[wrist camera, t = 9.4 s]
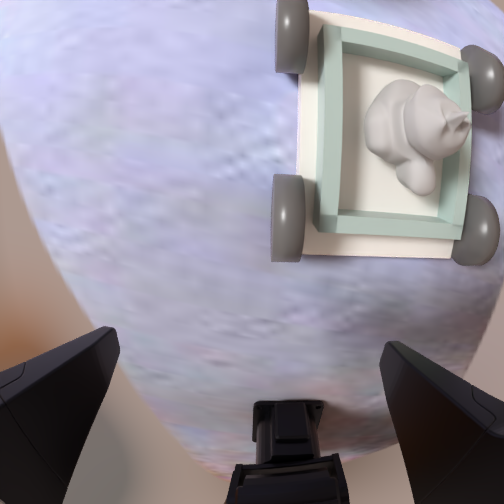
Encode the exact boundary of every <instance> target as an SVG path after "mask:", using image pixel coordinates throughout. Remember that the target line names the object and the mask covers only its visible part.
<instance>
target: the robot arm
mask: <svg viewBox="0 0 504 504" xmlns="http://www.w3.org/2000/svg"><path fill="white" fill-rule="evenodd" d="M119 354H120V346H119V342H118V337H117V332H116V330H115V329H114V328H113V327H107V326H103V327H101V328H99V329H96V330H94V331H92V332H90V333H88V334H85V335H83V336H81V337H79V338H76V339H74V340H72V341H70V342H68V343H65V344H63V345H61V346H59V347H57V348H54V349H52V350H50V351H48V352H45V353H43V354H41V355H39V356H37V357H34V358H32V359H30V360H28V361H26V362H23V363H21V364H18V365H16V366H14V367H12V368H9V369H7V370H4V371H2V372H0V504H62V503H63V500H64V497H65V494H66V492H67V489H68V488H67V487H68V485H69V483H70V480H71V477H72V474H73V472H74V469H75V466H76V464H77V461H78V459H79V456H80V454H81V451H82V449H83V446H84V443H85V441H86V439H87V436H88V434H89V431H90V429H91V426H92V424H93V422H94V420H95V417H96V415H97V412H98V410H99V408H100V406H101V403H102V401H103V399H104V397H105V394H106V392H107V389H108V387H109V384H110V381H111V378H112V375H113V372H114V369H115V366H116V363H117V360H118V357H119ZM380 371H381V376H382V381H383V386H384V391H385V396H386V400H387V404H388V408H389V411H390V414H391V417H392V421H393V424H394V427H395V431H396V434H397V437H398V441H399V444H400V448H401V451H402V455H403V458H404V462H405V466H406V470H407V474H408V478H409V481H410V485H411V490H412V494H413V498H414V503H415V504H504V402H503V401H501V400H499V399H497V398H495V397H493V396H491V395H489V394H487V393H485V392H484V391H482V390H480V389H479V388H477V387H475V386H474V385H471V384H470V383H468V382H467V381H465V380H463V379H462V378H460V377H458V376H457V375H455V374H453V373H451V372H450V371H448V370H446V369H445V368H443V367H441V366H440V365H438V364H436V363H435V362H433V361H431V360H430V359H428V358H426V357H424V356H423V355H421V354H419V353H418V352H416V351H414V350H413V349H411V348H409V347H408V346H406V345H404V344H403V343H401V342H399V341H388V342H387V343H386V344H385V347H384V350H383V353H382V356H381V359H380ZM258 406H260V407H258ZM323 407H324V406H323V402H321V401H306V402H255V403H254V408H253V434H252V441H253V442H257V443H256V464H249V465H243V464H236V466H235V471H233V474H232V478H231V483H230V487H229V491H228V495H227V499H226V501H225V503H224V504H350V502H349V493H348V488H347V483H346V479H345V475H344V472H343V468H342V465H341V461H340V458H339V454H338V453H336V454H332V455H330V456H324V457H321V456H320V449H319V443H318V436H317V429H318V425H319V422H320V418H321V415H322V411H323Z"/></svg>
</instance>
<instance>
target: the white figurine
mask: <svg viewBox="0 0 504 504" xmlns="http://www.w3.org/2000/svg"><path fill="white" fill-rule="evenodd" d="M468 114H469V112H466V111H462V110H461V109H460V107H459V106H458V105H457V104H456V103H455V102H454V101H452V100H450V99H449V98H448V97H447V96H446V95H445V94H444V93H443V92H442V91H441V90H439V89H438V88H436V87H435V86H432V85H429V84H424V85H422V86H420V85H418V84H417V83H415V82H413V81H410V80H404V79H398V80H395V81H393V82H391V83H389V84H388V85H386V86H385V87H384V88H383V89H382V90H381V91H380V92H379V94H378V95H377V96H376V97H375V99H374V100H373V102H372V104H371V105H370V107H369V108H368V110H367V112H366V115H365V118H364V122H363V127H364V135H365V143H366V147H367V148H368V150H369V151H370V152H372V153H373V154H375V155H377V156H379V157H381V158H382V159H383V160H385V161H386V162H389V163H391V164H394V165H396V176H397V179H398V180H399V182H400V183H401V184H402V185H403V186H404V187H406V188H409V189H410V190H411V191H412V192H413V193H415V194H416V195H419V196H427V195H429V194H431V193H432V192H433V191H434V190H435V188H436V175H435V169H434V165H433V161H434V160H441V159H443V158H445V157H448V156H450V155H453V154H454V153H456V152H457V151H459V149H460V148H461V147H462V146H463V145H464V143H465V141H466V139H467V136H468V134H469V131H470V129H471V126H472V124H471V122H470V121H469V119H468V118H467V115H468Z"/></svg>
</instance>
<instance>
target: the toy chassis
mask: <svg viewBox="0 0 504 504" xmlns="http://www.w3.org/2000/svg"><path fill="white" fill-rule="evenodd" d="M275 71H276V73H293V74H298V128H297V161H296V175H287V174H274V176H273V187H272V207H271V261H272V262H299V261H300V259H301V256H302V254H307V255H343V256H379V257H415V258H451V257H452V258H453V260H454V261H455V262H456V263H458V264H460V265H463V266H481V265H484V264H486V263H487V262H488V261H489V260H490V259H491V258H492V257H493V255H494V253H495V251H496V249H497V246H498V242H499V237H500V224H499V218H498V214H497V211H496V209H495V207H494V206H493V204H492V203H491V202H490V201H489V200H488V199H487V198H485V197H482V196H477V195H472V194H468V186H469V175H470V161H471V136H472V126H471V129H470V131H469V134H468V136H467V139H466V141H465V143H464V145H463V146H462V147H461V148H460V149H459V151H457V152H456V153H454V154H453V155H450V156H448V157H445V158H443V159H441V160H434V161H433V165H434V169H435V175H436V188H435V190H434V191H433V192H432V193H431V194H429V195H427V196H419V195H416V194H415V193H413V192H412V191H411V190H410V189H409V188H406V187H404V186H403V185H402V184H401V183H400V182H399V180H398V179H397V176H396V165H394V164H391V163H389V162H386V161H385V160H383V159H382V158H381V157H379V156H377V155H375V154H373V153H372V152H370V151H369V150H368V148H367V147H366V143H365V135H364V127H363V122H364V118H365V115H366V112H367V110H368V108H369V107H370V105H371V104H372V102H373V100H374V99H375V97H376V96H377V95H378V94H379V92H380V91H381V90H382V89H383V88H384V87H385V86H386V85H388V84H389V83H391V82H393V81H395V80H398V79H404V80H410V81H413V82H415V83H417V84H418V85H420V86H422V85H424V84H429V85H432V86H435V87H436V88H438V89H439V90H441V91H442V92H443V93H444V94H445V95H446V96H447V97H448V98H449V99H450V100H452V101H454V102H455V103H456V104H457V105H458V106H459V107H460V109H461V110H462V111H466V112H469V114H468V115H467V118H468V119H469V121H470V122H471V124H472V115H471V110H473V111H476V112H478V113H481V114H485V115H488V114H492V113H494V112H495V111H497V110H498V109H499V107H500V106H501V105H502V103H503V101H504V66H503V64H502V63H501V61H500V60H499V59H498V57H497V56H495V55H494V54H492V53H490V52H488V51H487V50H485V49H483V48H481V47H479V46H476V45H468V46H466V47H464V48H463V49H462V50H461V51H460V48H457V47H455V46H452V45H450V44H447V43H445V42H442V41H440V40H437V39H434V38H431V37H428V36H426V35H423V34H420V33H416V32H413V31H410V30H407V29H403V28H400V27H396V26H393V25H389V24H385V23H381V22H377V21H373V20H368V19H363V18H358V17H353V16H348V15H342V14H336V13H329V12H322V11H314V10H309V7H308V2H307V0H277V4H276V24H275Z"/></svg>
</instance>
